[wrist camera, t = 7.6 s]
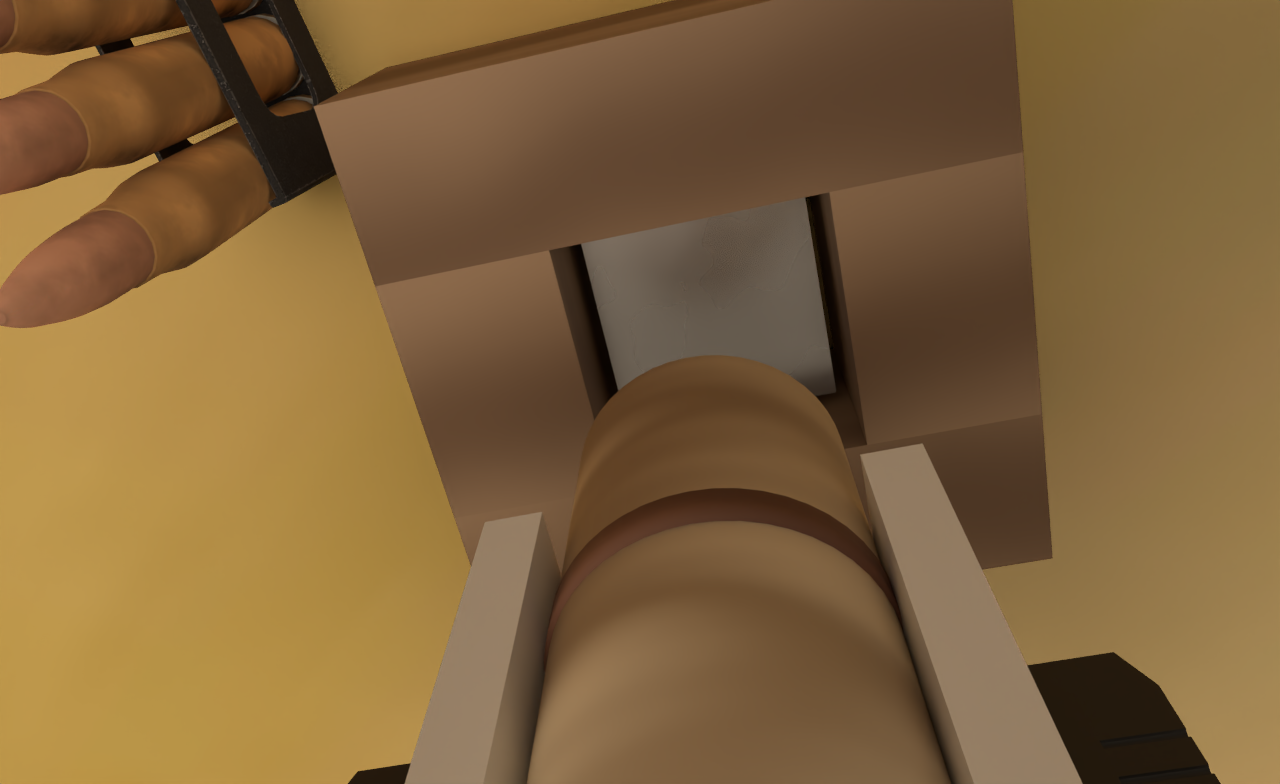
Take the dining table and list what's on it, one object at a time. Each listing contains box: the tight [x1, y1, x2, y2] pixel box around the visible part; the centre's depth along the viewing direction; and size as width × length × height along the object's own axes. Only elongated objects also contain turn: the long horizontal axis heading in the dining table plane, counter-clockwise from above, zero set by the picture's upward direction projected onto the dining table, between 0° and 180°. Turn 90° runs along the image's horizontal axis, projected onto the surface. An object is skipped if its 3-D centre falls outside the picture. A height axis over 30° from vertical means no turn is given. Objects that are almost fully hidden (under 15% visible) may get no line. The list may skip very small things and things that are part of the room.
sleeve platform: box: [581, 197, 836, 396], centre depth 22 cm, size 5×5×1 cm
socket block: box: [314, 0, 1052, 575], centre depth 22 cm, size 12×12×5 cm
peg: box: [527, 355, 952, 784], centre depth 10 cm, size 4×4×12 cm
